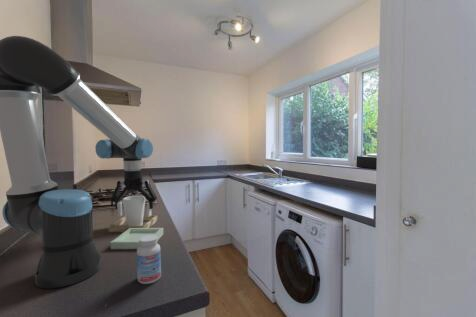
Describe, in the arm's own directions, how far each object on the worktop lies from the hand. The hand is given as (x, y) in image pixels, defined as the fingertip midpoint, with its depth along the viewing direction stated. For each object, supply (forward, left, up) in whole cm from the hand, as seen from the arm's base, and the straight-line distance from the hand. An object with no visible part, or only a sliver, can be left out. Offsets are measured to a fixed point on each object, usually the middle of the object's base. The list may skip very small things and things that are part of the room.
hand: (134, 216), depth 104 cm
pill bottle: (-42, -23, -5) cm, 48 cm away
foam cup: (0, 0, -5) cm, 5 cm away
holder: (0, 0, -5) cm, 5 cm away
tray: (-17, -9, -5) cm, 20 cm away
